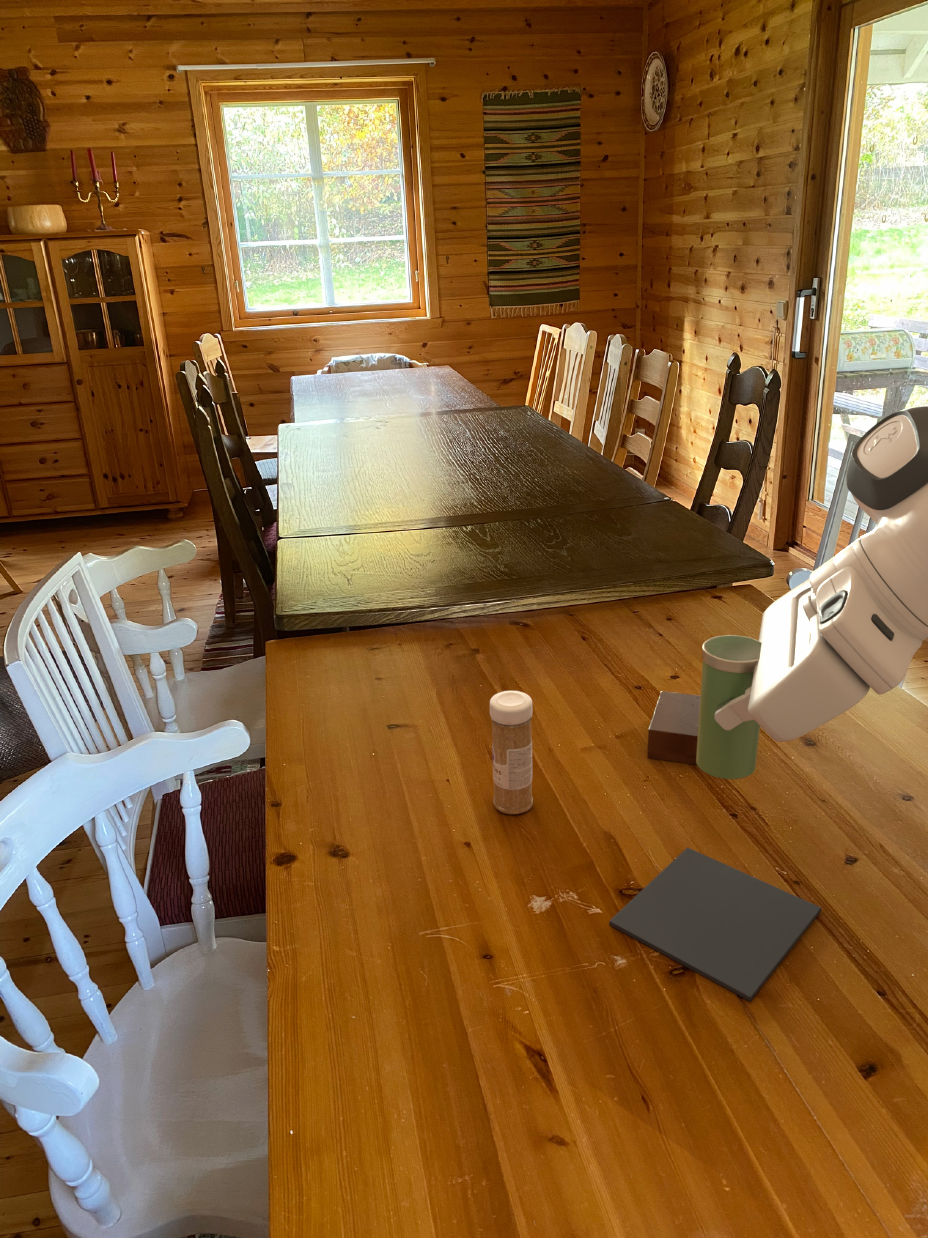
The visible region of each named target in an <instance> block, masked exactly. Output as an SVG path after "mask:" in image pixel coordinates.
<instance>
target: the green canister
mask: <svg viewBox="0 0 928 1238" xmlns="http://www.w3.org/2000/svg"><path fill="white" fill-rule="evenodd" d="M761 645H762V642H760V641H759V639H756V638H753V637H749V636H744V635H736V634H725V635H724V634H723V635H717V636H712V637H710V638H708V639H707V640H705V641H704V642H703V644H702V647H701V648H702V650H701V659H702V666H701V667H702V668H701V669H702V670H701V681H700V682H701V683H700V695H699V696H700V710H699V725H698V739H697V754H696V763H697V765H696V766H697V767H698V768H699V769H700V770H701V771H702V772H704V773H705V774H707V775H709V776H712V777H714V778H719V779H724V780H740V779H744V778H747V777H749V776H751V775H752V774H753V773H755V771H756V769H757V764H758V753H759V743H760V733H761V727H760V726H759V724H758V723H757V722H756V721H755V720H750V721H745V722H742V723H741V724H739V725H738V726H736V727H735V728H733V729H732V730H725V729H723V728H722V727H721V726H720V725H719V724H718V723H717V722H716V720H715V718H714V716H715V712H716V708H717V706H718V705H720V704H722V703H723V702H724V701H726V700H727V699H729V698H730V697H731V698H732V699H735V698H737V697H739V696H741V695H744V694H745V691H746V690H747V689H748V688H750V687H751V686H752V680H753V674H754V668H755V665H756V663H757V662H758V661H759V659H760V652H761Z"/></svg>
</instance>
